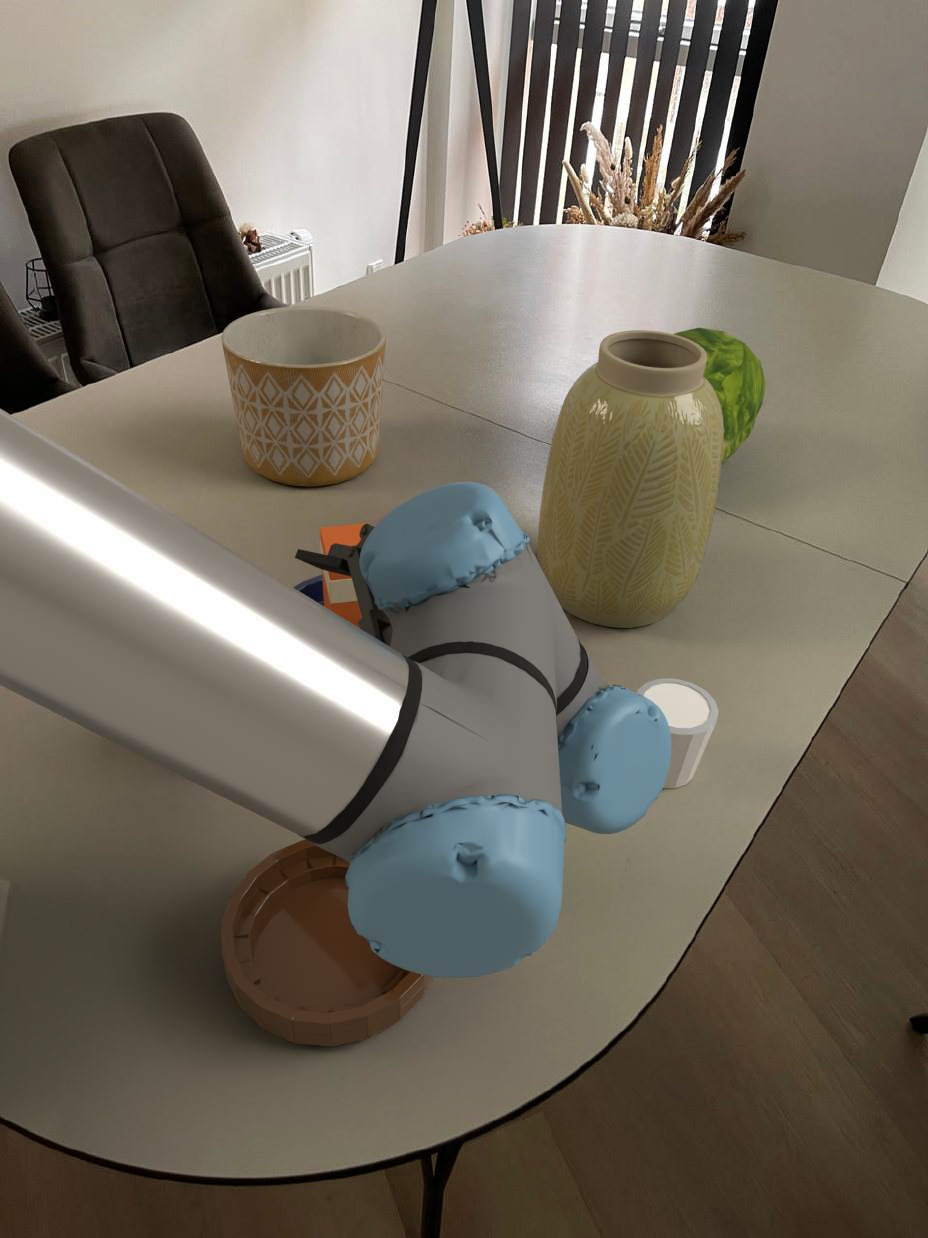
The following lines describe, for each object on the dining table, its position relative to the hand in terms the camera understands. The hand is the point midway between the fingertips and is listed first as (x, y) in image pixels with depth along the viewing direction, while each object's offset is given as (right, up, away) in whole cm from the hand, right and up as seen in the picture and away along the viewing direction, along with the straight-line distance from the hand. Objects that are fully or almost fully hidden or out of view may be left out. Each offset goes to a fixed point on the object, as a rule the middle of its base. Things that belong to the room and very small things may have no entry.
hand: (279, 639), depth 75 cm
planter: (-5, +22, +48) cm, 53 cm away
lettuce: (+42, +21, +49) cm, 68 cm away
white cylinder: (+32, -11, +7) cm, 34 cm away
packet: (+4, -2, +15) cm, 16 cm away
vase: (+30, +4, +27) cm, 41 cm away
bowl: (+6, -22, -9) cm, 24 cm away
